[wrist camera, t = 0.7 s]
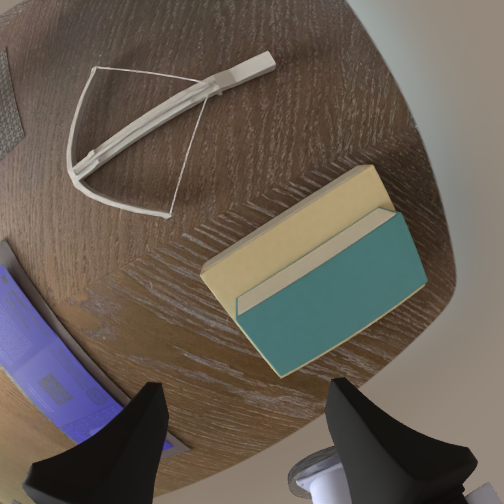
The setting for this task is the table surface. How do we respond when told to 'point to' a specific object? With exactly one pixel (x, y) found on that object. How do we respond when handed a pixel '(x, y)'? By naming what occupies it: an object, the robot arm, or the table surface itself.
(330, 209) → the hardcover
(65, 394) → the booklet
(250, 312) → the teal rectangular block
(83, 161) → the crossbow
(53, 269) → the table surface
